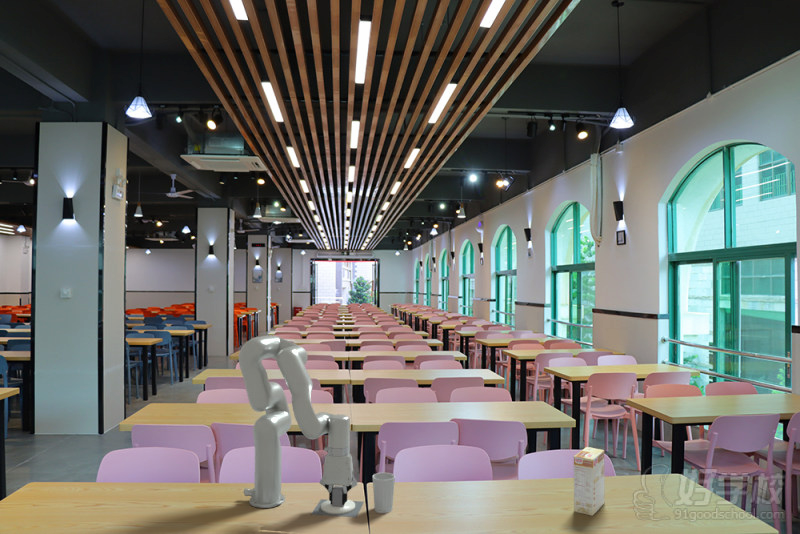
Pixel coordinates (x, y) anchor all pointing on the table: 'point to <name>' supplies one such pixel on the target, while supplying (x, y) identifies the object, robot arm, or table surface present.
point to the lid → (337, 503)
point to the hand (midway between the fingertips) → (338, 502)
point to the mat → (352, 514)
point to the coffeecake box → (589, 481)
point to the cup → (383, 492)
